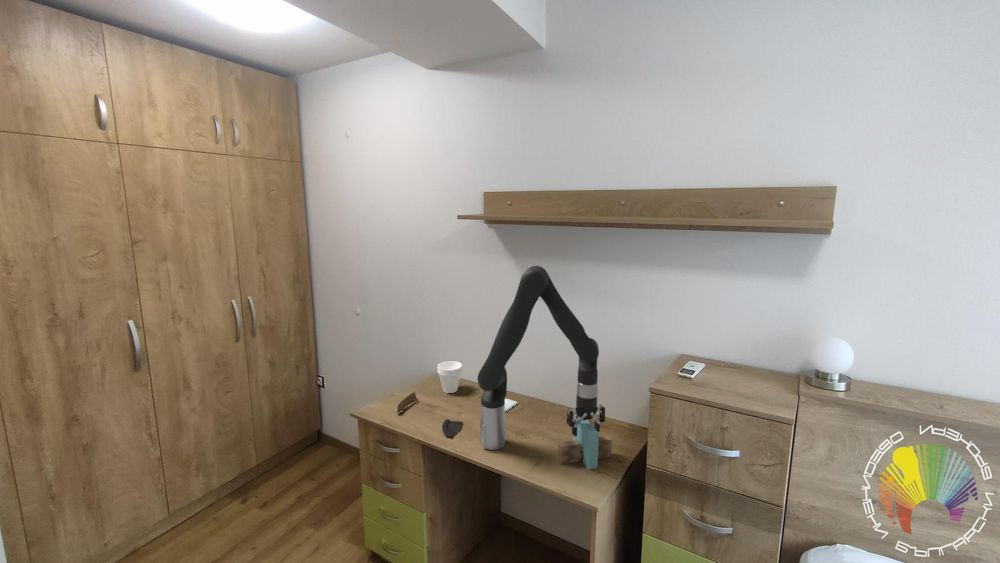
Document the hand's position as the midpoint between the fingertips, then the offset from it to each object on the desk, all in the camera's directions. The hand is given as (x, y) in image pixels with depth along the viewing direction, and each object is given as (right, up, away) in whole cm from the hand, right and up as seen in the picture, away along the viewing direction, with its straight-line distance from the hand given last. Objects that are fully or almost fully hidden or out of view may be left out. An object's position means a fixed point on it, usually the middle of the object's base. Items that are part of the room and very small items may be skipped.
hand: (585, 434), depth 164 cm
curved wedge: (-53, -7, +24) cm, 58 cm away
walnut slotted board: (0, -10, +2) cm, 10 cm away
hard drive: (-30, -3, +43) cm, 53 cm away
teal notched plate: (0, -10, +2) cm, 10 cm away
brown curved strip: (-75, -3, +42) cm, 86 cm away
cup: (-57, +1, +60) cm, 83 cm away
